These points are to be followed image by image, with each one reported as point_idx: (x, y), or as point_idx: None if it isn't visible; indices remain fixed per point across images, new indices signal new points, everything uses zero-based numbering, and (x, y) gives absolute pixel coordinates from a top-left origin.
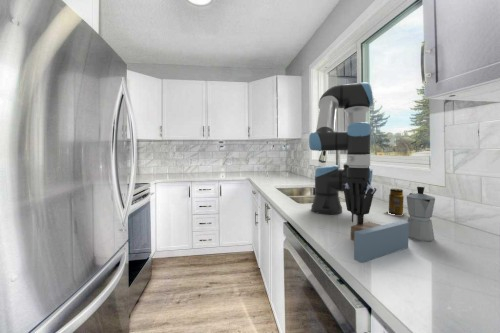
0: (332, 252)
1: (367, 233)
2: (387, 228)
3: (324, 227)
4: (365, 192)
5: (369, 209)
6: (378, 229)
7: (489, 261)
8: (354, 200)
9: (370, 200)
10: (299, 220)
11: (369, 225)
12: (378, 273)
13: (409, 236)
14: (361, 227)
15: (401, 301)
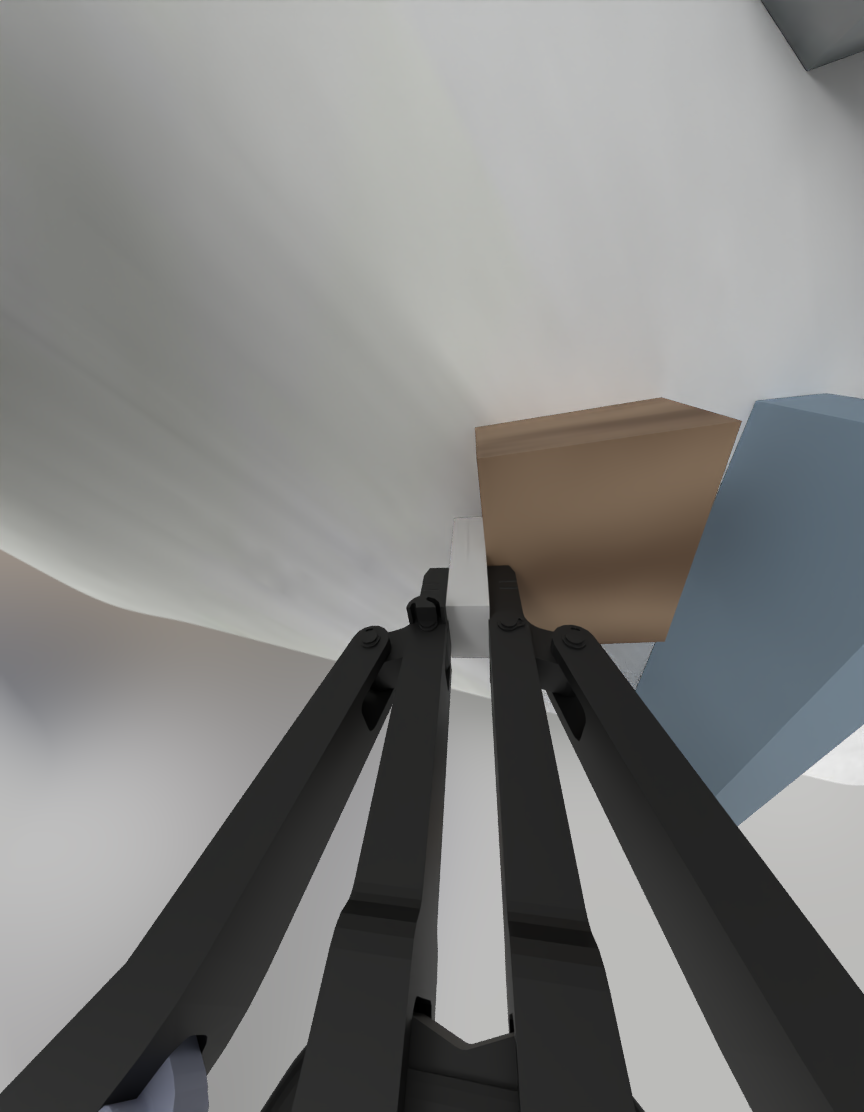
0: (546, 706)
1: (750, 809)
2: (852, 726)
3: (271, 568)
4: (628, 1087)
5: (621, 679)
6: (796, 769)
7: None
8: (442, 812)
9: (735, 868)
10: (131, 596)
11: (563, 549)
12: None
13: (843, 44)
14: (555, 623)
15: (834, 756)
